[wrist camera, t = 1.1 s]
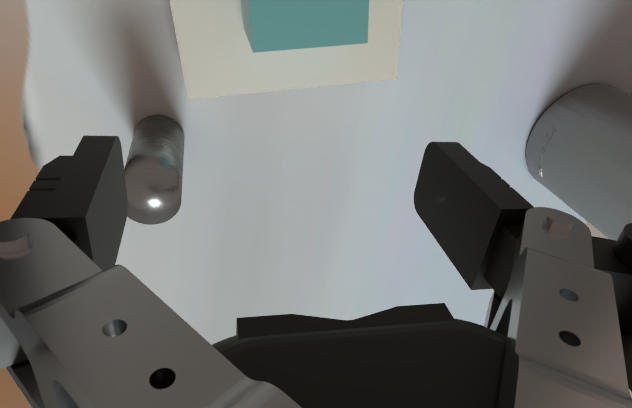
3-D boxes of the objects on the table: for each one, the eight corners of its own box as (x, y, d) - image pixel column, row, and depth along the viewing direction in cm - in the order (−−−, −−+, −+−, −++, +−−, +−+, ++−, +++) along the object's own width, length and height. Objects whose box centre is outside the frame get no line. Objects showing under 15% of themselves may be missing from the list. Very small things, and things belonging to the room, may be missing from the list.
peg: (179, 112, 30) (174, 169, 24) (188, 155, 32) (186, 219, 26) (129, 117, 30) (110, 177, 23) (140, 161, 32) (126, 228, 25)
